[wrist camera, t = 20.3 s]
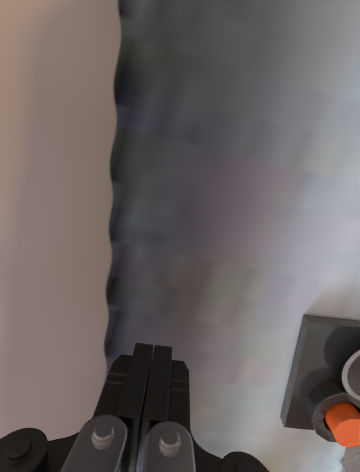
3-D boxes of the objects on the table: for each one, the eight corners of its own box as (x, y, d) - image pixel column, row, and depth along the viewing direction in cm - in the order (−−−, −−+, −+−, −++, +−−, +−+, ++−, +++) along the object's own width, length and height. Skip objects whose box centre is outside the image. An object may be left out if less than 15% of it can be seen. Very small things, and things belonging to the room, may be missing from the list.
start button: (328, 400, 31) (339, 417, 29) (361, 403, 31) (374, 420, 29) (321, 427, 32) (330, 445, 29) (353, 430, 32) (365, 449, 30)
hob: (303, 314, 32) (317, 332, 28) (408, 326, 32) (435, 344, 29) (280, 416, 35) (290, 443, 32) (375, 426, 35) (396, 454, 32)
